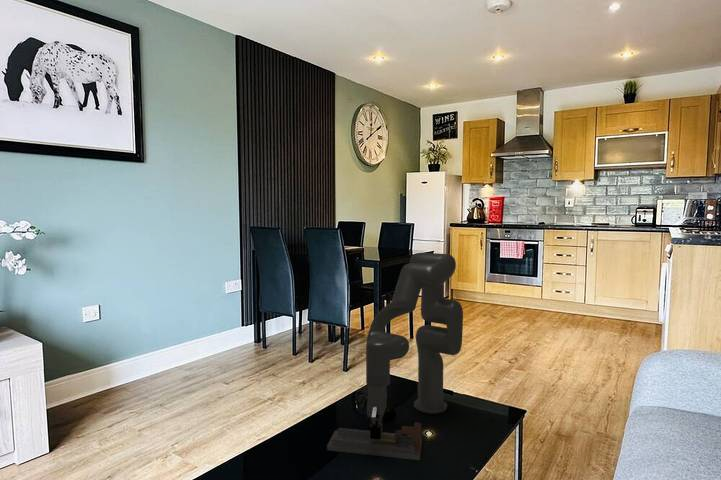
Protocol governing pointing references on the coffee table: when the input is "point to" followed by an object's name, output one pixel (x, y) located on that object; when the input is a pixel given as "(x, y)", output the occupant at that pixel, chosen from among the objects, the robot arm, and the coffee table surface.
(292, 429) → the coffee table surface
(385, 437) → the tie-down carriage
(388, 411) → the tape measure
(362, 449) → the rail
